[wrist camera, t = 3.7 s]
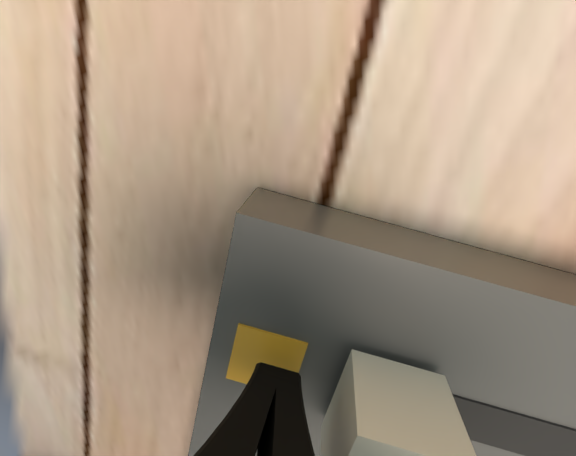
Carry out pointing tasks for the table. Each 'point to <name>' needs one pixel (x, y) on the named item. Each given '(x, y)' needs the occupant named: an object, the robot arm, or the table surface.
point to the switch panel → (394, 322)
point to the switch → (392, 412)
